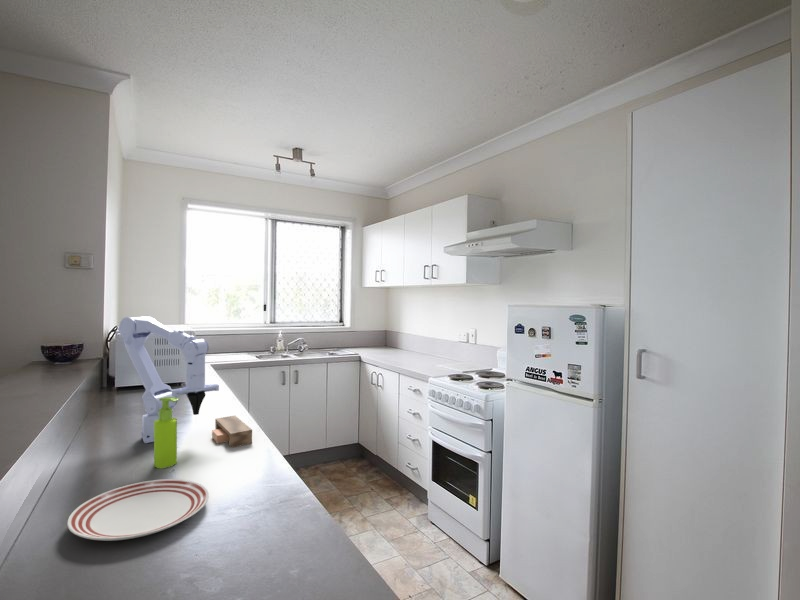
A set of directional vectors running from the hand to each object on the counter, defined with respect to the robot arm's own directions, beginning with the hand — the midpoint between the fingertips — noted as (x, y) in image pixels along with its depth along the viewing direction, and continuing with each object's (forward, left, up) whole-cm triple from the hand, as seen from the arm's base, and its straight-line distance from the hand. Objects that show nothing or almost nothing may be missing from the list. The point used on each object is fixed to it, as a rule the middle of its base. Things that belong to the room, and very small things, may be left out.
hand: (195, 413), depth 145 cm
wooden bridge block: (+10, -3, -9) cm, 14 cm away
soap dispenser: (-11, -16, -10) cm, 22 cm away
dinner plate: (-20, -45, -10) cm, 50 cm away
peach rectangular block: (+9, -3, -9) cm, 14 cm away
